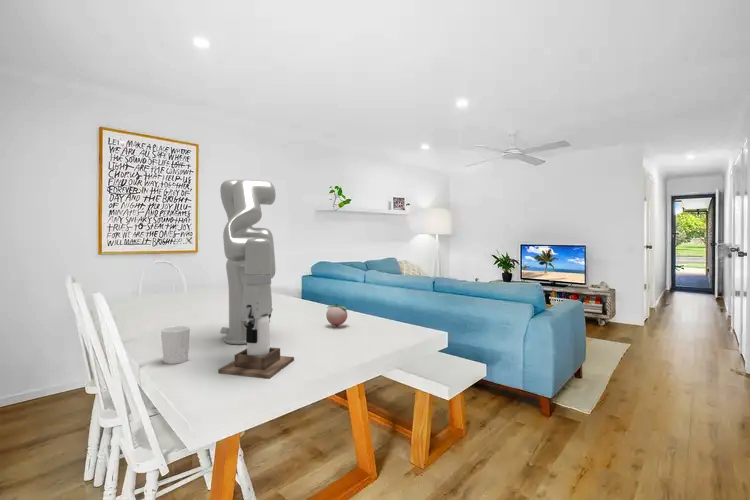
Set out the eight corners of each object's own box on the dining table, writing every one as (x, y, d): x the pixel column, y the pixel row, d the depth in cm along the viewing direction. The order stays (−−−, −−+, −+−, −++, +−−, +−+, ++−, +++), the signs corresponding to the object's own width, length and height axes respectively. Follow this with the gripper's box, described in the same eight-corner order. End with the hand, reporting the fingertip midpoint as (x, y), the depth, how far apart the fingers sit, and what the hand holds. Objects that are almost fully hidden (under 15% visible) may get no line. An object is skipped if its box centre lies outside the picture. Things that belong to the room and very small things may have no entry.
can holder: (218, 373, 111) (218, 357, 111) (248, 355, 127) (248, 342, 126) (269, 378, 107) (269, 362, 107) (294, 360, 123) (294, 346, 123)
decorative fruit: (323, 328, 164) (323, 304, 163) (328, 324, 172) (328, 301, 171) (344, 329, 162) (345, 306, 162) (349, 325, 170) (349, 302, 170)
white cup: (170, 366, 116) (170, 333, 115) (156, 361, 120) (155, 329, 119) (195, 359, 122) (195, 328, 122) (180, 355, 127) (180, 324, 126)
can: (263, 358, 113) (263, 317, 112) (242, 357, 114) (242, 316, 114) (273, 352, 119) (273, 313, 119) (253, 350, 121) (253, 312, 120)
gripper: (261, 276, 125) (261, 331, 126) (229, 282, 108) (230, 346, 109) (282, 277, 123) (282, 333, 124) (254, 284, 107) (254, 348, 107)
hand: (258, 339), depth 117 cm, fingers closed on can, 6 cm apart
